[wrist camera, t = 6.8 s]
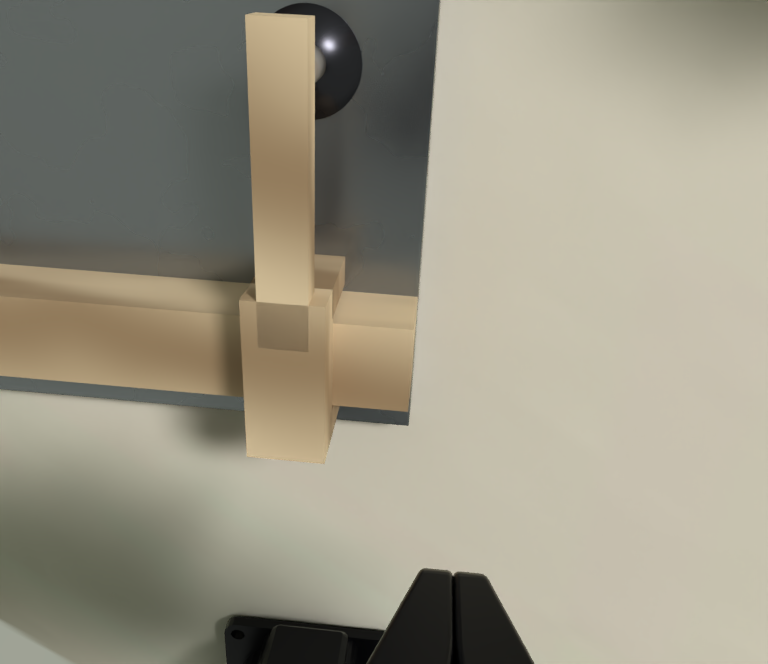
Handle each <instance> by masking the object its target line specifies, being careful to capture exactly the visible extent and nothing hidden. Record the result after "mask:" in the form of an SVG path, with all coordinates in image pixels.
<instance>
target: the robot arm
mask: <svg viewBox="0 0 768 664" xmlns="http://www.w3.org/2000/svg"><path fill="white" fill-rule="evenodd" d="M225 645H226V657H227V664H534V662H533V660H532V658H531V656H530V655H529V653H528V651H527V649H526V647H525V645H524V644H523V642H522V640H521V638H520V636H519V635H518V633H517V631H516V629H515V627H514V625H513V624H512V622H511V620H510V618H509V616H508V614H507V613H506V611H505V609H504V607H503V605H502V603H501V602H500V600H499V598H498V596H497V594H496V592H495V591H494V589H493V587H492V585H491V583H490V581H489V580H488V578H487V577H486V576H485V575H483V574H479V573H469V572H456V573H455V574H454V575H452V573H451V572H450V571H448V570H438V569H428V568H424V569H422V570H420V571H419V573H418V574H417V576H416V578H415V580H414V581H413V583H412V585H411V587H410V588H409V590H408V592H407V594H406V595H405V597H404V599H403V601H402V602H401V604H400V606H399V608H398V609H397V611H396V613H395V615H394V616H393V618H392V620H391V622H390V623H389V625H388V627H387V629H386V630H385V632H381V631H371V630H362V629H353V628H343V627H334V626H325V625H315V624H306V623H297V622H287V621H278V620H269V619H259V618H250V617H241V616H238V617H233V618H231V619H230V620H229V621H228V623H227V626H226V629H225Z"/></svg>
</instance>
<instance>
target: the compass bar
mask: <svg viewBox="0 0 768 664" xmlns="http://www.w3.org/2000/svg"><path fill="white" fill-rule="evenodd" d="M245 27H246V53H247V78H248V104H249V130H250V156H251V182H252V207H253V233H254V259H255V276H254V278H253V279H252V281H251V283H237V282H225V281H212V280H199V279H187V278H174V277H161V276H149V275H136V274H124V273H111V272H98V271H86V270H73V269H60V268H48V267H35V266H22V265H10V264H0V376H10V377H21V378H32V379H43V380H55V381H66V382H77V383H88V384H100V385H111V386H122V387H133V388H145V389H156V390H167V391H178V392H190V393H201V394H212V395H223V396H235V397H244V411H245V431H246V450H247V457H257V458H267V459H278V460H289V461H299V462H310V463H321V464H324V463H325V459H326V455H327V452H328V448H329V444H330V440H331V437H332V433H333V429H334V425H335V422H336V418H337V414H338V410H339V407H340V406H347V407H359V408H370V409H381V410H392V411H404V412H408V407H409V398H410V389H411V380H412V370H413V356H414V343H415V329H416V315H417V302H418V297H414V296H401V295H389V294H376V293H364V292H351V291H342V290H343V287H344V285H345V257H344V256H331V255H318V254H315V83H316V82H317V81H318V80H319V79H320V78H321V77H322V76H323V74H324V72H325V69H326V60H325V57H324V54H323V53H322V51H321V50H320V49H319V48H318V47H317V46H315V16H313V15H295V14H277V13H259V12H255V13H250V14H246V15H245Z"/></svg>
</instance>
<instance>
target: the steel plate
mask: <svg viewBox="0 0 768 664" xmlns="http://www.w3.org/2000/svg"><path fill="white" fill-rule="evenodd" d="M255 12H259V13H277V14H295V15H313V16H315V46H317V47H318V48H319V49H320V50H321V51H322V53H323V54H324V57H325V60H326V69H325V72H324V74H323V76H322V77H321V78H320V79H319V80H318V81H317V82H316V83H315V254H318V255H331V256H344V257H345V285H344V287H343V290H342V291H351V292H364V293H376V294H389V295H401V296H414V297H419V284H420V270H421V257H422V243H423V230H424V216H425V203H426V189H427V176H428V162H429V149H430V135H431V122H432V108H433V95H434V81H435V68H436V54H437V41H438V27H439V14H440V0H0V264H10V265H22V266H35V267H48V268H60V269H73V270H86V271H98V272H111V273H124V274H136V275H149V276H161V277H174V278H187V279H199V280H212V281H225V282H237V283H251V281H252V279H253V278H254V276H255V259H254V233H253V207H252V182H251V156H250V130H249V104H248V78H247V53H246V27H245V15H246V14H250V13H255ZM417 311H418V302H417ZM416 324H417V315H416ZM415 338H416V329H415ZM414 351H415V343H414ZM413 365H414V356H413ZM412 378H413V370H412ZM0 389H6V390H18V391H29V392H40V393H51V394H62V395H73V396H84V397H95V398H106V399H118V400H129V401H140V402H151V403H162V404H173V405H184V406H195V407H207V408H218V409H229V410H240V411H244V397H235V396H223V395H212V394H201V393H190V392H178V391H167V390H156V389H145V388H133V387H122V386H111V385H100V384H88V383H77V382H66V381H55V380H43V379H32V378H21V377H10V376H0ZM411 392H412V380H411V389H410V398H409V407H408V412H404V411H392V410H381V409H370V408H359V407H347V406H340V407H339V410H338V414H337V418H336V419H340V420H351V421H362V422H373V423H384V424H396V425H407V426H408V425H409V415H410V405H411Z"/></svg>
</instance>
